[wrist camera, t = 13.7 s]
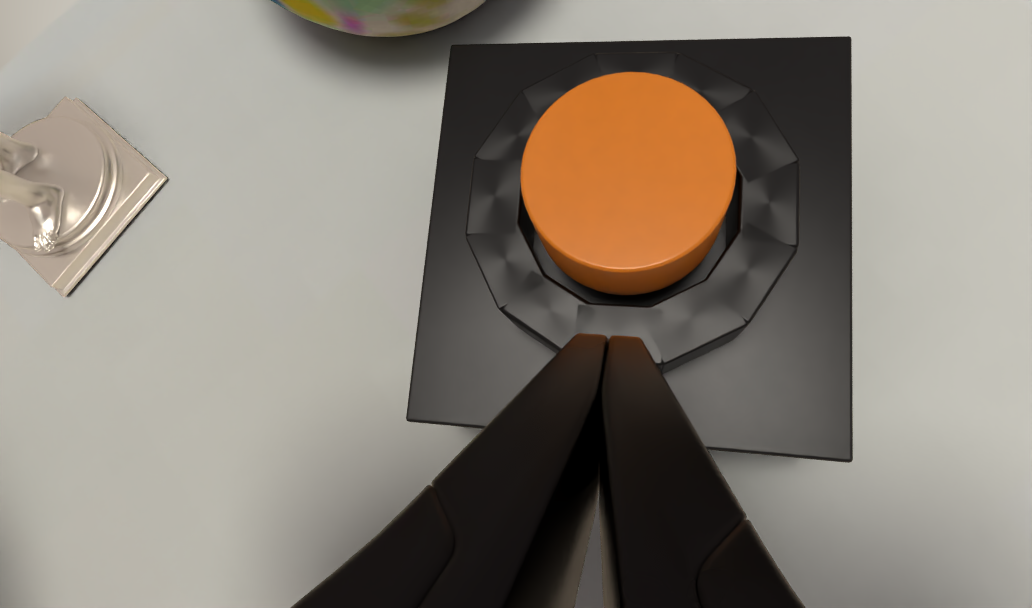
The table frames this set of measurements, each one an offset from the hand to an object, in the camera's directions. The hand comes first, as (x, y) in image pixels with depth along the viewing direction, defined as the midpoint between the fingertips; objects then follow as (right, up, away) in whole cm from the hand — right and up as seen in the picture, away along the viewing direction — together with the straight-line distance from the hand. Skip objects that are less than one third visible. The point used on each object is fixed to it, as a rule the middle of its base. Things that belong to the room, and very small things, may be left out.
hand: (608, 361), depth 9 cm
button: (+1, +3, +6) cm, 6 cm away
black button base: (+2, +2, +12) cm, 12 cm away
